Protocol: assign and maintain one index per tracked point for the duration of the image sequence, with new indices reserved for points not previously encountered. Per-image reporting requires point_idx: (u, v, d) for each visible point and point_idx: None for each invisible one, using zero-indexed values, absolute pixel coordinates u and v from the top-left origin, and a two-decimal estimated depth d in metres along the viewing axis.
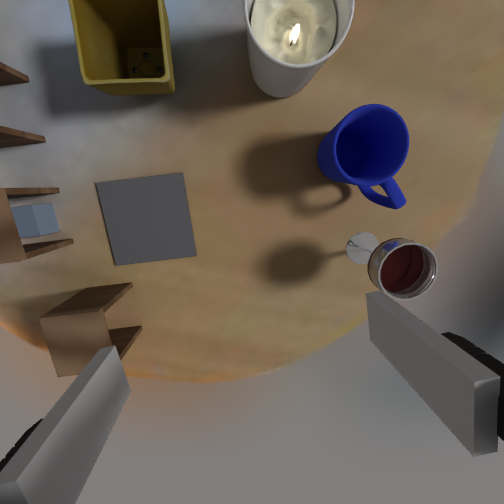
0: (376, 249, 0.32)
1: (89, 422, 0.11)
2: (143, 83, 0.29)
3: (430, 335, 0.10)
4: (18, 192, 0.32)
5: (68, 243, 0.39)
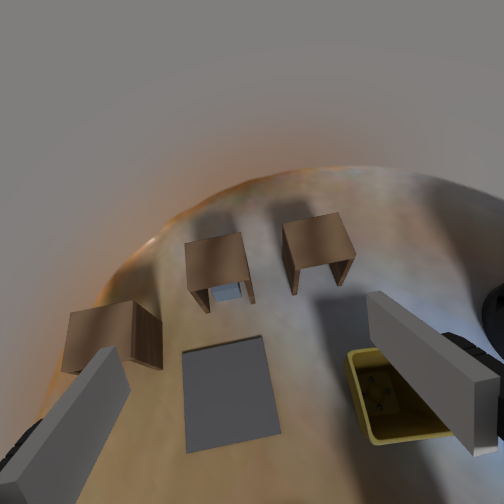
0: None
1: (90, 422, 0.11)
2: (362, 411, 0.28)
3: (430, 335, 0.10)
4: (247, 285, 0.38)
5: (205, 310, 0.43)
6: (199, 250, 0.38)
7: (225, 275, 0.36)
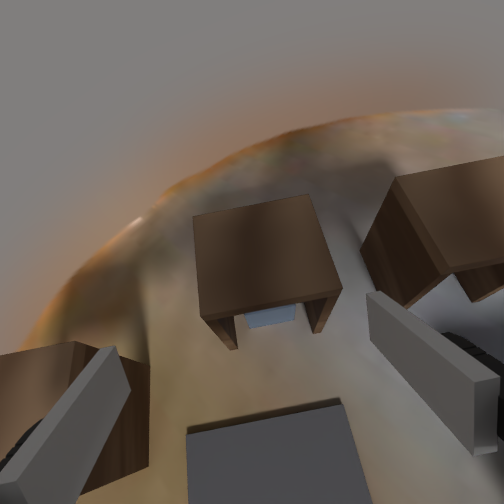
0: None
1: (89, 422, 0.11)
2: None
3: (430, 335, 0.10)
4: (326, 306, 0.18)
5: (230, 347, 0.23)
6: (224, 230, 0.18)
7: (285, 285, 0.16)
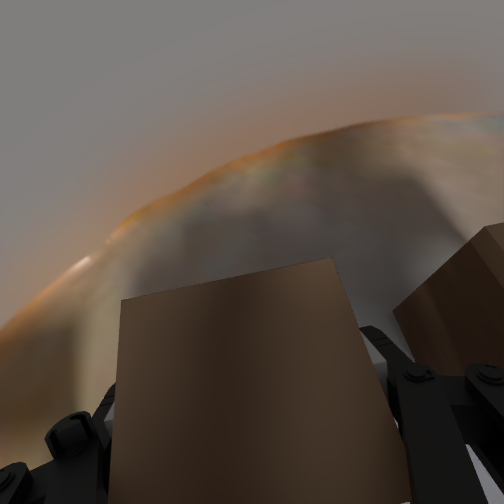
0: None
1: None
2: None
3: None
4: None
5: None
6: (176, 333, 0.09)
7: (296, 481, 0.07)
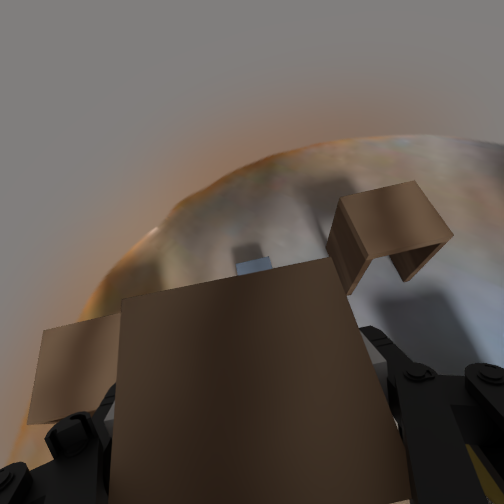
0: None
1: None
2: None
3: None
4: None
5: None
6: (176, 332, 0.09)
7: (295, 479, 0.07)
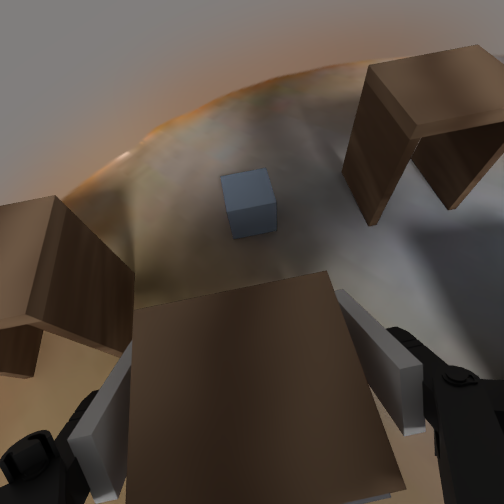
0: None
1: None
2: None
3: (375, 329, 0.11)
4: None
5: None
6: (184, 341, 0.10)
7: (293, 474, 0.08)
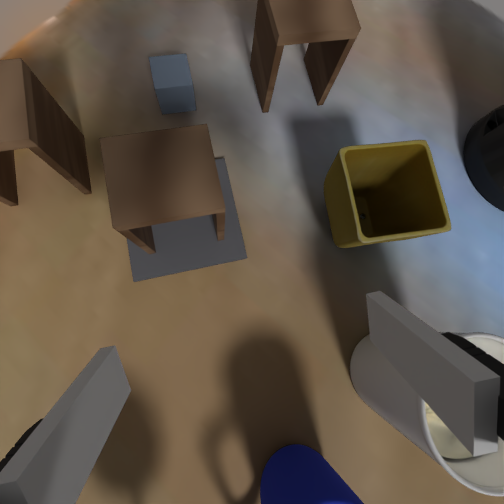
0: None
1: (90, 422, 0.11)
2: (351, 212, 0.24)
3: (430, 335, 0.10)
4: (219, 220, 0.23)
5: (148, 251, 0.28)
6: (130, 154, 0.20)
7: (182, 203, 0.20)
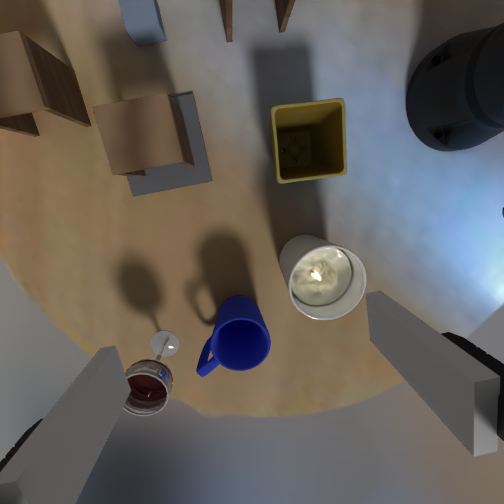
0: (160, 364, 0.38)
1: (90, 422, 0.11)
2: (275, 160, 0.34)
3: (430, 335, 0.10)
4: (182, 163, 0.34)
5: (140, 176, 0.39)
6: (115, 120, 0.30)
7: (154, 158, 0.31)
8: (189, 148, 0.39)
